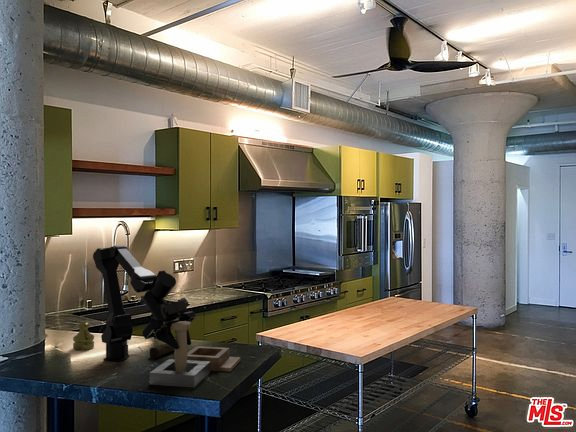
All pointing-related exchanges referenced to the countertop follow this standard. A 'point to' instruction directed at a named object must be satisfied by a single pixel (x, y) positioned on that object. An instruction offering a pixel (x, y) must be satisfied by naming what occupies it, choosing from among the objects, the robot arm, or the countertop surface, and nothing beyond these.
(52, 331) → the countertop surface
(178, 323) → the handle
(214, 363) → the tan piece
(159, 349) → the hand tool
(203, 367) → the socket block
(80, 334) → the olive green tiered piece
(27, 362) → the countertop surface
